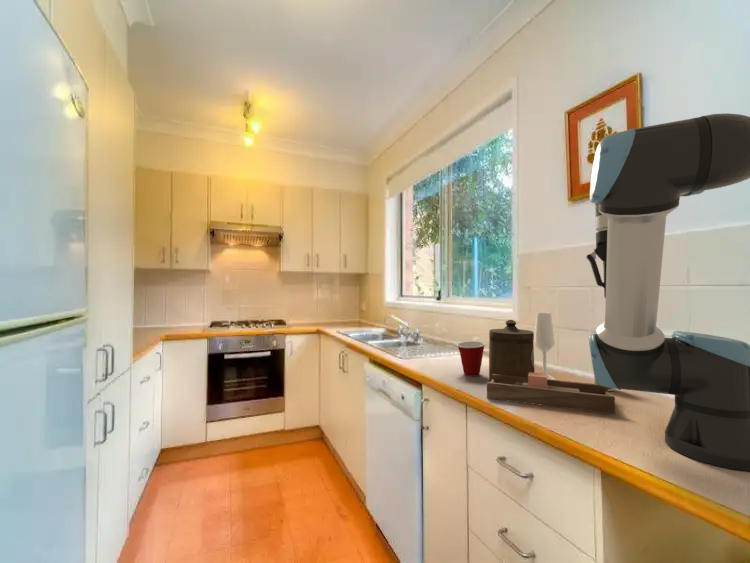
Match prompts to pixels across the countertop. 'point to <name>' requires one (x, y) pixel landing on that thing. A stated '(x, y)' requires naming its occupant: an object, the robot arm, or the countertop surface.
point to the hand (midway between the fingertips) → (612, 309)
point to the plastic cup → (471, 356)
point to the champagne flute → (544, 336)
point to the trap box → (552, 393)
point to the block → (537, 380)
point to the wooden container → (511, 351)
